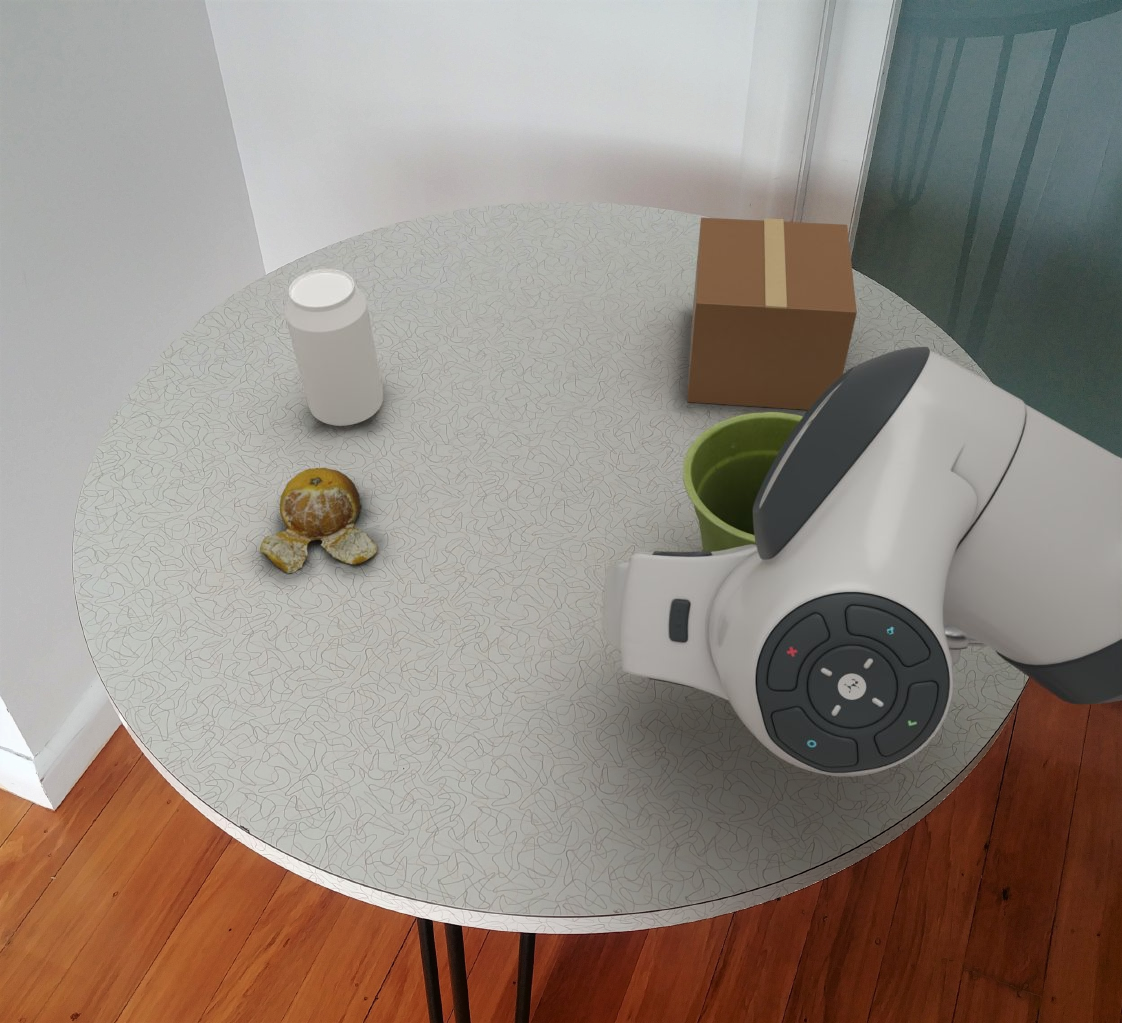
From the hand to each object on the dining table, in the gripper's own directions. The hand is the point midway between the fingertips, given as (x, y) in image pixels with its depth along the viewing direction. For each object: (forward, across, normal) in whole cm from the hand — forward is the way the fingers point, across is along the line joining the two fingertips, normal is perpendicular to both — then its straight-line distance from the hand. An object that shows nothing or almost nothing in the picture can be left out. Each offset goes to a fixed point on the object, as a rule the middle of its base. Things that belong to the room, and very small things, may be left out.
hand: (763, 597), depth 68 cm
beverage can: (+18, +33, -11) cm, 39 cm away
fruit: (+8, +32, -1) cm, 33 cm away
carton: (+24, -1, -18) cm, 30 cm away
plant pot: (+7, 0, 0) cm, 7 cm away
